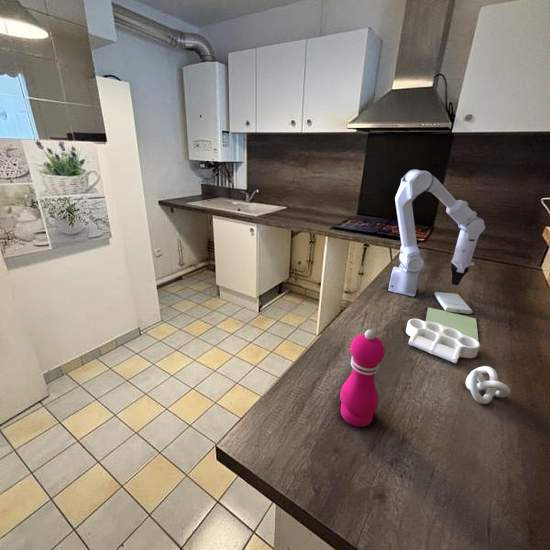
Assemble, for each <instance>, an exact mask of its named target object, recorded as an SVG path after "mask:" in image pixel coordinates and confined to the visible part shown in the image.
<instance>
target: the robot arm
mask: <svg viewBox="0 0 550 550" xmlns="http://www.w3.org/2000/svg"><path fill="white" fill-rule="evenodd" d="M424 192H429V193H431V194H432V195H433V196H434V197H436V198H437V199H438V200H439V201H440V202H441V203H442V204H443V205H444V206H445V207H446V209H445V212H446V214H447V215H448V216H449V217H450V218H451V219H452V220H453V221H454V222H455V223H456V224H457V226H458V228H459V229H460V231H459V234H458V237H457V242H456V245H455V249H454V253H453V256H452V258H451V261H450V262H451V263H450V271H451V285H454V286H459V285H460V283H461V281H462V279H463V277H464V276H465V275H466V274H467V273H469V271H470V270H469V268H470V267H471V266H472V267H473V266H475V262H473V260H472V259H473V256H474V253H475V249H476V246H477V243H478V239H479V237H480V235H481V234H482V233H483V232H484V231H485V229H486V228H487V227H486V224H485V221H484V219H483V218H481V217H478V216H477V215H478V213H477V212H476V211H473V210H472V209H471V207H469V202H467V201H466V200H461V199H457V200H456V198H454V196H453V195H452V194H451V193H450V192H449V191H448V189H446V187H445V186H444V185H443V184H442V183H441V182H440V180H439V179H438V178H437V177H435V176H434V175H432V173H431V172H429V171H427V170H419V169H417V168H416V169H414V168H413V169H410V170H409V171H407V173H405V175H403V177H402V178H401V179H400V185H399V187H398V189H397V192H396V194H395V197H394V201H395V209H396V216H397V222H398V223H397V224H398V229H399V236H400V244H401V246H400V247H399V248H400V249H399V251H400V252H399V255H398V260H399V262H400V264H399V266H393V267H392V270H391V274H390V279H389V281H388V283H389V284H388V289H387V291H388V292H392V293H397V294H399V295H404V296H410V297H415V296H416V293H417V290H418V288H417V285H418V281H419V276H420V272H421V270H423V269H424V267H425V260H424V259H423V257H422V255H421V252H420V249H419V247H418V243H417V235H416V234H417V233H416V225H415V218H414V210H413V209H414V208H413V201H414V200H415V199H416V198H417V197H418V196H420V194H422V193H424Z"/></svg>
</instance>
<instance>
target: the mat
mask: <svg viewBox="0 0 550 550" xmlns="http://www.w3.org/2000/svg"><path fill="white" fill-rule="evenodd" d="M425 321H426V322H435V323H439V324H441V325H443V326H446V327H449V328H453V329H456V330H458V331H459V332H461V333H462V334H464V335H466V336H469V337H472V338H474V339H476V340H477V341H478V342H479V335H478V334H479V333H478V324H477V318H476V317H471V316H467V315H462V314H460V313H456V312H447V311H445V310H442V309H437V308H433V307H429V306H428V307H427V311H426V316H425Z"/></svg>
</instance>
